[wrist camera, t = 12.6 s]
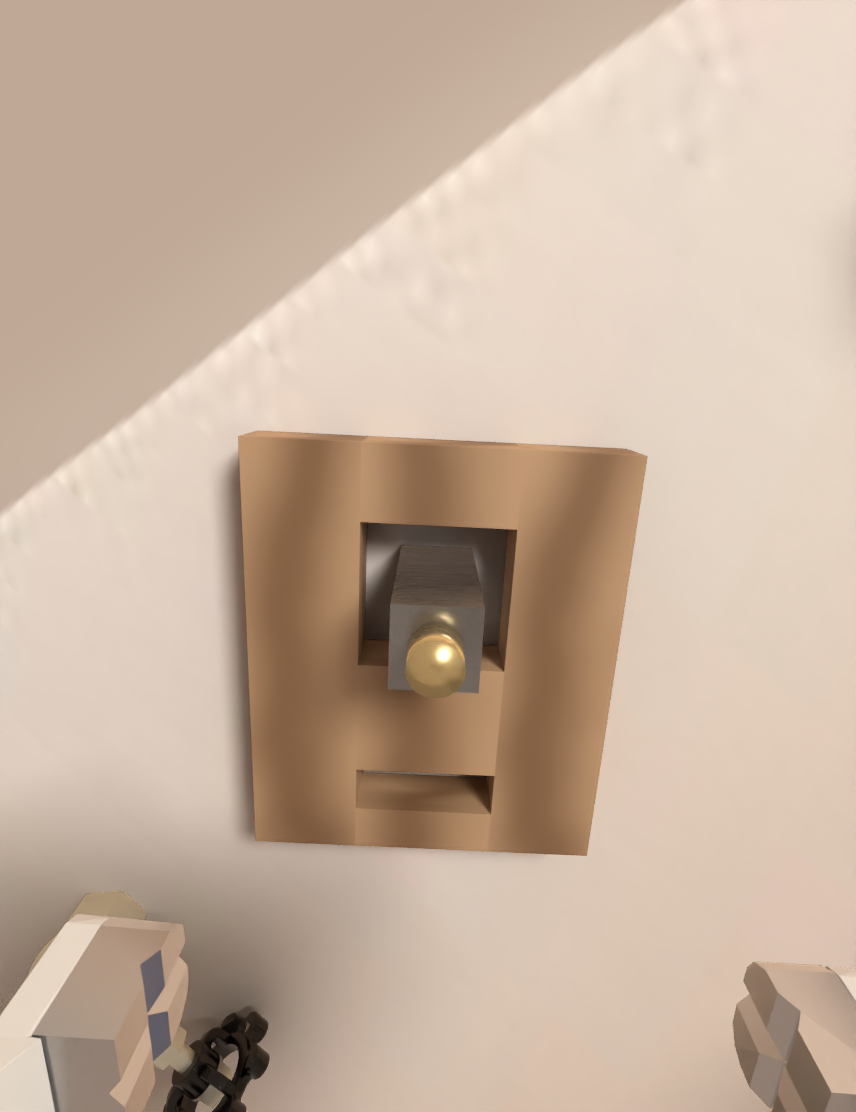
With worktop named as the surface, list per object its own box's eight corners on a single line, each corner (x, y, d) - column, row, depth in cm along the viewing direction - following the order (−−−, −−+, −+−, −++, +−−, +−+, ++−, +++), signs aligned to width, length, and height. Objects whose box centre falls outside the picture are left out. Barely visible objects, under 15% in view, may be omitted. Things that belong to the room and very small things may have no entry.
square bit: (471, 548, 25) (490, 627, 17) (466, 613, 26) (482, 718, 18) (401, 545, 25) (386, 622, 17) (399, 610, 26) (383, 713, 18)
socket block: (625, 449, 24) (647, 456, 22) (573, 816, 29) (586, 855, 27) (257, 430, 24) (238, 436, 21) (270, 802, 29) (255, 840, 27)
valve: (42, 920, 31) (201, 1048, 34) (-57, 1056, 25) (148, 1201, 28) (128, 858, 30) (285, 996, 33) (47, 984, 24) (250, 1143, 26)
